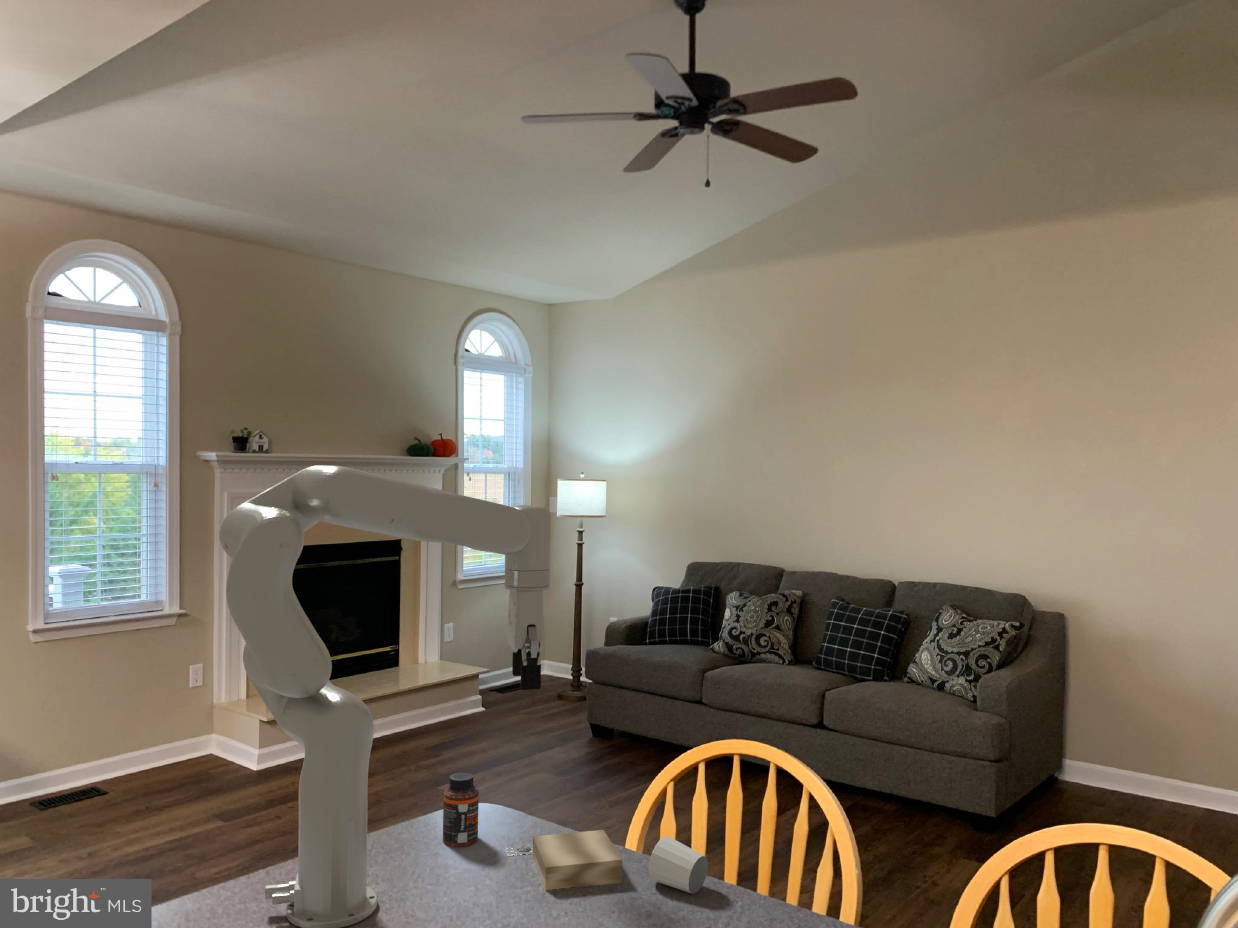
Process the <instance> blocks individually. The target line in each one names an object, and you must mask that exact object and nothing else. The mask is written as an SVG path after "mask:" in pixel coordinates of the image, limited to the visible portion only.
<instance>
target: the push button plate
mask: <svg viewBox="0 0 1238 928" xmlns="http://www.w3.org/2000/svg"><path fill="white" fill-rule="evenodd" d="M528 846H529V845H523V846H520V847H521V848H517V851H518V852H533V851H530V850H531V849H533V848H530V847H528ZM524 847H527V848H524ZM505 848H506V849H508V848H509V847H505ZM510 848H511V847H510ZM506 849H505V852H508V851H506ZM511 849H513V848H511ZM519 850H520V851H519ZM525 850H526V851H525ZM510 852H514V851H510ZM515 853H517V852H515ZM513 855H514V856H513ZM506 856H507V857H508V856H509V857H517V854H516V855H515V854H511V855H509V854H507V853H506ZM520 856H523V855H522V854H520ZM525 856H529V855H528V854H526V855H525Z"/></svg>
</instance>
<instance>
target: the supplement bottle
mask: <svg viewBox="0 0 1238 928" xmlns="http://www.w3.org/2000/svg"><path fill="white" fill-rule="evenodd" d="M448 785H449V786H448V787H447V788H446V789H444V791H443V802H442V803H443V806H442V807H443V808H442V809H443V811H442V812H443V813H442V815H443V816H442V842H443V844H444V845H445V846H448V847H451V848H466V847H470V846H473V845H474V844H476V843H477V842H478V838H479V799H480V798H479V794H480V792H479V790H478V788H477V787H475V785H474V775H473V774H472V773H466V772H458V773H457V772H456V773H453V774H451V775H450V776H449V783H448Z"/></svg>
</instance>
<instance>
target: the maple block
mask: <svg viewBox="0 0 1238 928" xmlns="http://www.w3.org/2000/svg"><path fill="white" fill-rule="evenodd" d="M532 845H533V854H532V859H533V858H534V859H533V861H535V862H534V864H535V866H537V867H536V870H537V869H538V870H537V872H538V875H539V878H540V877H541V878H540V879H542V880H541V883H542V882H543V883H542V885H543V888H544V891H545V890H547V891H553V890H552V889H557V890H559V889H558V888H566V889H571V888H570V887H576V888H583V887H582V886H585V887H588V886H587V885H595V886H602V885H604V886H605V885H611V884H621V883H623V859H622V857H621V855H620V854H619V852H618V851H617V849H616V847H615V846H614V845H613V843H612V841H611V839H610V838H609V836H608V834H607V833H606V830H605V829H598V830H588V831H587V830H586V831H576V832H565V833H564V832H563V833H556V834H555V833H553V834H543V835H533V836H532ZM580 886H581V887H580Z"/></svg>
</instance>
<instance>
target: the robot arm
mask: <svg viewBox="0 0 1238 928" xmlns="http://www.w3.org/2000/svg"><path fill="white" fill-rule="evenodd" d="M551 521H552V520H551V512H550V509H548V507H546V506H543V505H533V504H526V505H525V504H520V505H518V504H517V505H512V506H509V505H506V504H502V503H497V502H494V501H489V500H485V499H479V498H476V497H472V496H466V495H462V494H459V493H453V492H449V491H446V490H442V489H439V488H435V487H432V486H428V485H424V484H418V483H415V482H411V481H406V480H401V479H398V478H393V477H390V476H386V475H380V474H377V473H372V472H370V471H369V472H368V471H364V470H360V469H356V468H352V467H349V466H348V467H347V466H341V465H324V464H323V465H321V464H318V465H311V466H308V467H305V468H304V469H302V470H299V471H298V472H296V473H294V474H292V475H290V476H289V477H287V478H285V479H283V480H281V481H279V482H278V483H276V484H275V485H273V486H271V487H269V488H268V489H266V490H264V491H262V492H261V493H259V494H257V495H255V496H254V497H251V498H250V499H247V500H246V501H245V502H242V503H241V504H239V505H237V506H236V507H235V508H233V509H231V511H230V512H229V513H228V514H227V515H226V516H225V518H224V519H223V521H222V522H221V525H220V528H219V533H218V534H219V542H220V545H221V547H222V549H223V551H224V552H225V553H226V555H227V556H229V557H230V558H231V559H232V561H231V564H230V566H229V570H228V574H227V578H226V579H227V580H226V586H225V587H226V588H225V595H226V596H225V597H226V603H227V608H228V610H229V613H230V616H231V619H232V620H233V622H234V623H235V625H236V628H237V630H238V631H239V633H240V634H241V637H242V638H243V640H244V643H245V644H244V647H243V651H242V664H243V666H244V671H245V673H246V675H247V677H248V679H249V681H250V682H251V684H252V686H253V688H254V689H255V690H256V693H258V695H259V697H260V698H261V700H262V701H263V703H264V704H265V706H266V708H267V709H268V711H269V712H270V714H271V716H272V717H273V718H274V720H275V722H276V723H277V725H278V726H279V727H280V728H281V730H282V731H283V733H284V734H286V735H287V737H289V738H290V739H291V740H292V741H295V743H298V744H299V745H300V746H301V747H303V749H304V756H303V757H304V758H303V763H302V768H301V771H300V775H299V776H300V777H299V783H298V839H297V840H298V846H297V847H298V851H297V852H298V855H297V861H298V862H297V863H298V864H297V869H298V870H297V873H296V878H295V879H294V880H293V879H292V880H289V881H288V883H280V884H279V883H274V884H273V883H272V884H266V885H265V887H264V888H265V889H264V890H265V891H264V900H271V905H282V904H286V908H285V915H286V918H287V919H286V920H288V922H290V923H291V924H292V925H294V926H296V927H299V928H345V927H349V926H352V925H354V924H356V923H359V922H361V921H363V920H365V919H367V918H368V917H370V915H372V914H373V912H375V910H376V909H377V907H378V895H377V893H376V891H375V890H374V889H373V888H371V887H370V886H367V879H368V877H367V875H368V873H367V871H368V869H367V868H368V866H367V865H368V863H367V862H368V800H369V799H368V786H369V785H368V783H369V782H368V780H369V778H368V777H369V766H370V765H369V764H370V756H371V751H372V746H373V741H374V734H375V733H374V730H375V727H374V726H375V725H374V724H375V723H374V719H373V715H372V713H371V711H370V709H369V707H368V706H367V704H366V703H365V702H364V701H363V700H362V699H361V698H359V696H357V695H356V694H353V693H351V692H350V691H348V690H346V689H344V688H341V687H338V686H336V685H334V684H333V683H332V682H331V680H330V678H331V675H332V669H333V668H332V667H333V665H332V664H333V663H332V659H331V655H330V652H329V650H328V648H327V646H326V644H325V642H324V641H323V640H322V638H321V637H320V636H319V634H318V632H317V631H316V628H315V627H314V626H313V624H312V622H311V621H310V618H309V617H308V616H307V614H306V612H305V611H304V610H303V607H302V605H301V604H300V601H299V600H298V597H297V595H296V593H295V591H294V588H293V574H294V570H295V567H296V564H297V562H298V559H299V558H300V556H301V554H302V551H303V550H304V549H303V548H304V544H305V532H307V531H308V530H309V529H311V528H312V527H314V526H316V525H317V524H318V523H326V524H331V525H335V526H340V527H345V528H350V529H355V530H360V531H365V532H370V533H376V534H380V535H385V536H391V537H395V538H400V539H405V540H412V541H416V542H425V543H426V542H427V543H440V544H447V545H456V546H462V547H465V548H468V549H469V548H470V549H471V550H473V551H474V550H475V551H479V552H487V553H492V554H498V555H499V554H500V555H504V589H505V590H508V591H509V592H508V593H509V594H508V605H507V606H508V608H507V625H506V626H507V629H506V642H507V644H508V645H509V647H510V648H511V649H512V663H511V664H512V665H511V666H512V671H511V673H512V675H513V677H520V689H521V690H522V691H531V690H540V689H541V688H542V664H541V652H540V651H541V650H542V649H543V646H544V635H545V633H544V632H545V630H544V629H545V626H544V625H545V624H544V623H545V620H544V619H545V618H544V617H545V611H544V609H545V607H544V606H545V605H544V604H545V599H544V598H545V597H544V591H546V590H550V588H551V585H550V584H551V526H552V525H551V524H552V523H551Z"/></svg>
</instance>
